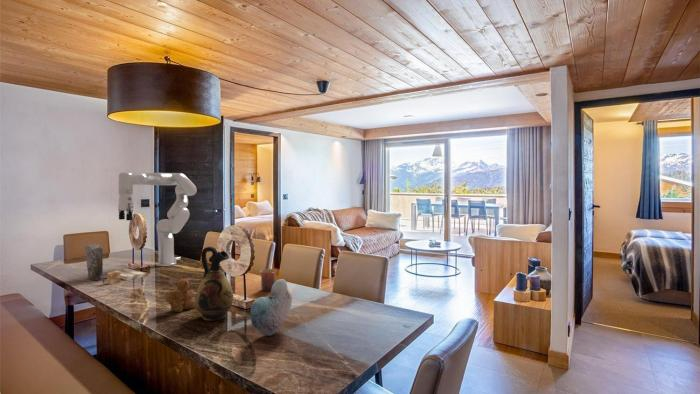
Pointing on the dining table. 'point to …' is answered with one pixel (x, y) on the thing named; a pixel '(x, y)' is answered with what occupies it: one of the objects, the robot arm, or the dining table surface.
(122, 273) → the birch board
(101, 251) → the stone block
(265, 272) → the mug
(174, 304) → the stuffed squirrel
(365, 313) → the dining table surface
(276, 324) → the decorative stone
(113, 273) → the marking gauge
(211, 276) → the ceramic jug
